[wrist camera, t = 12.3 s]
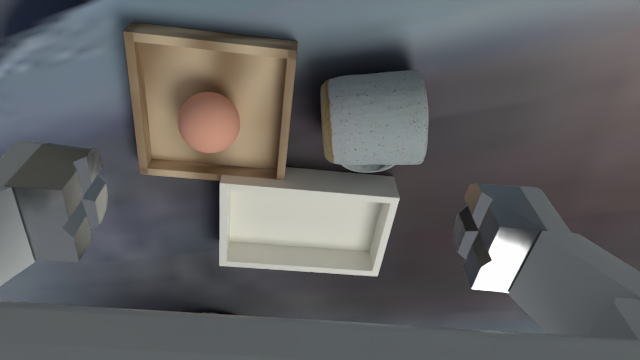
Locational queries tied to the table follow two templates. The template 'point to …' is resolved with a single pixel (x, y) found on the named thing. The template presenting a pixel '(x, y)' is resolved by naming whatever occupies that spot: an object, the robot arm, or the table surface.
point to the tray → (209, 76)
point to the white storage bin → (307, 221)
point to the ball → (208, 122)
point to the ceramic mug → (375, 120)
